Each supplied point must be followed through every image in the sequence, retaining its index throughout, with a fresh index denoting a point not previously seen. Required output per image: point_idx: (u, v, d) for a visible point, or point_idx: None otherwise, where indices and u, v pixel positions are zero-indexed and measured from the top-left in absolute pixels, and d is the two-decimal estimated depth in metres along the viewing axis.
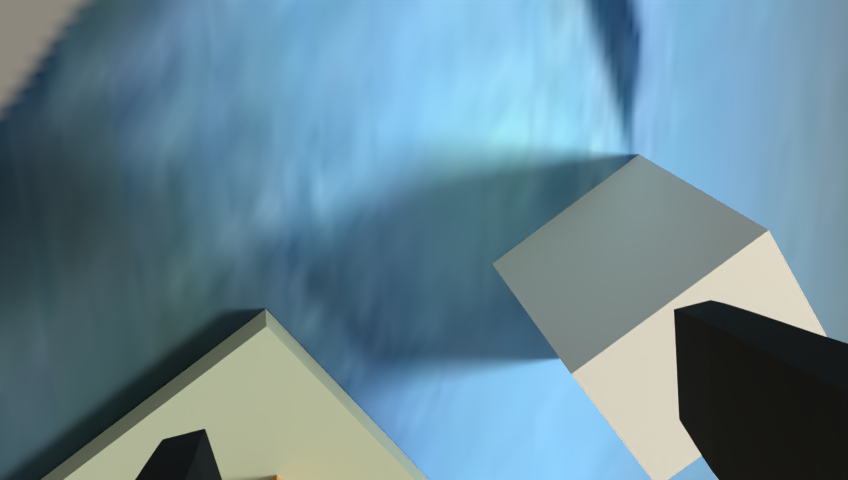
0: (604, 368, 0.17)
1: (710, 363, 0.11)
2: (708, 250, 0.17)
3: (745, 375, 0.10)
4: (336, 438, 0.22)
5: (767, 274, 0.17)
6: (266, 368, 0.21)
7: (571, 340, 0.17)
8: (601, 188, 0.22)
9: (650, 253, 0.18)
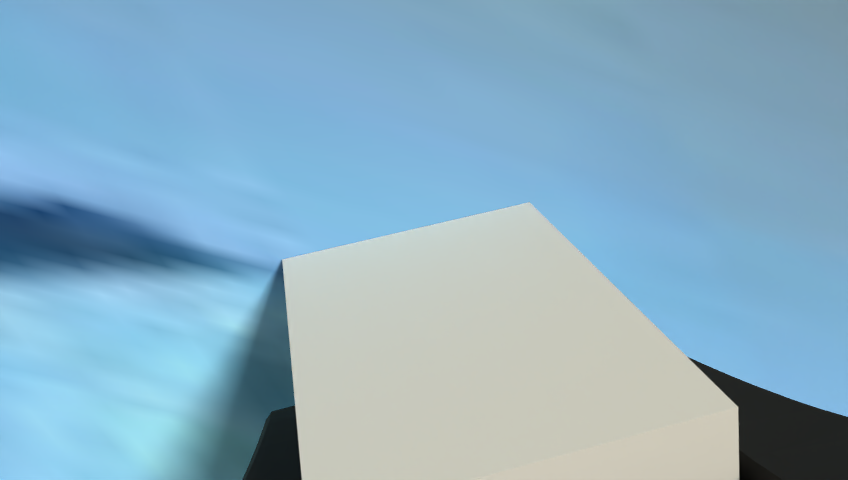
0: None
1: None
2: None
3: None
4: None
5: None
6: None
7: None
8: None
9: None
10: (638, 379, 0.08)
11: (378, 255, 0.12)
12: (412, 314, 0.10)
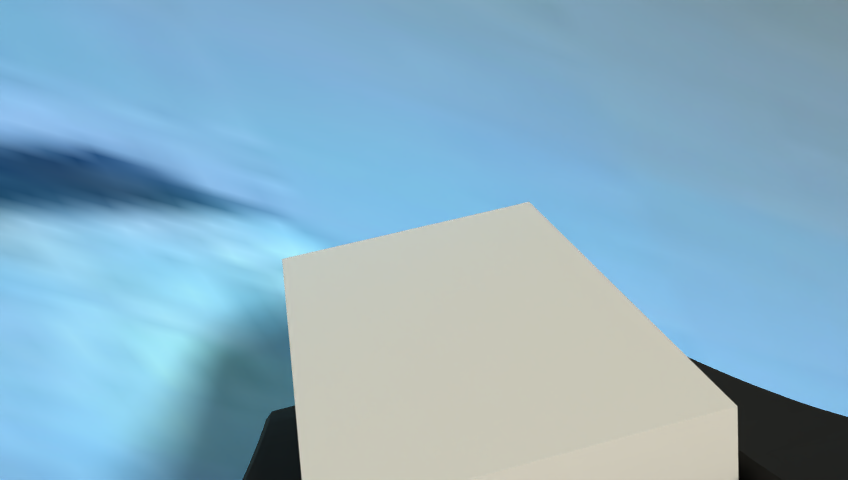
0: None
1: None
2: None
3: None
4: None
5: None
6: None
7: None
8: None
9: None
10: (637, 378, 0.08)
11: (378, 255, 0.12)
12: (412, 313, 0.10)
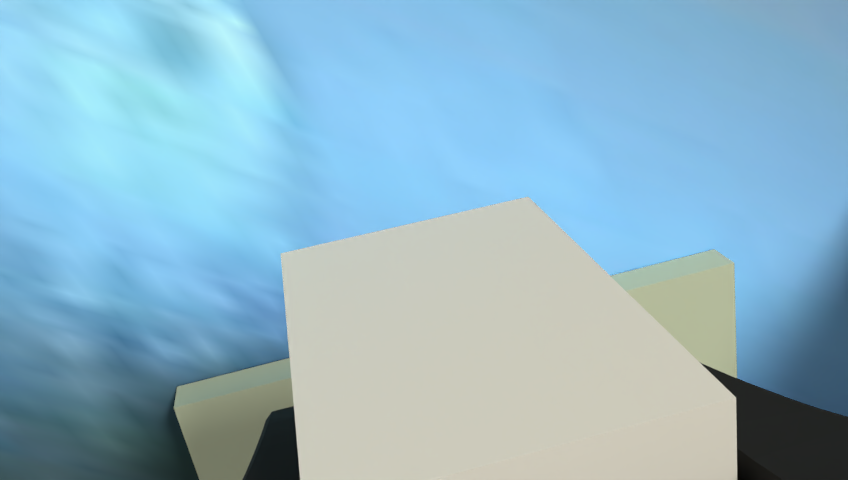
0: None
1: None
2: None
3: None
4: None
5: None
6: (220, 423, 0.20)
7: None
8: None
9: None
10: (636, 370, 0.08)
11: (377, 249, 0.12)
12: (411, 306, 0.10)
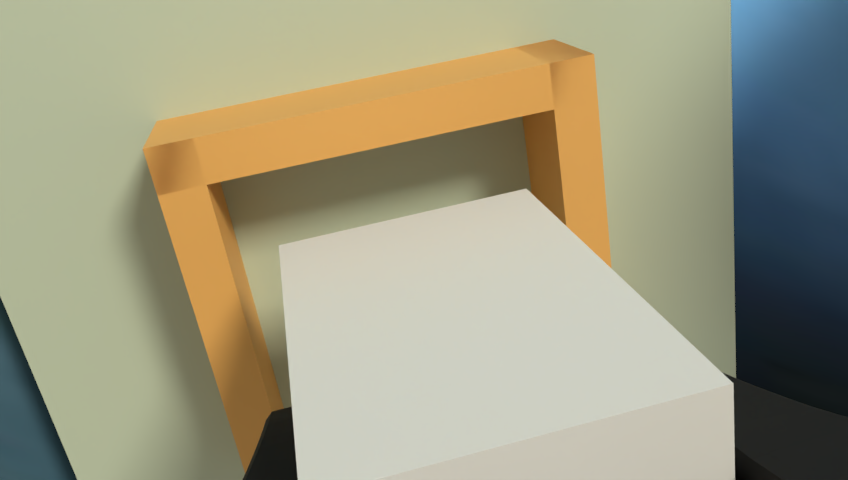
0: None
1: None
2: None
3: None
4: (135, 11, 0.14)
5: None
6: None
7: None
8: None
9: None
10: (633, 357, 0.08)
11: (375, 240, 0.12)
12: (408, 297, 0.10)
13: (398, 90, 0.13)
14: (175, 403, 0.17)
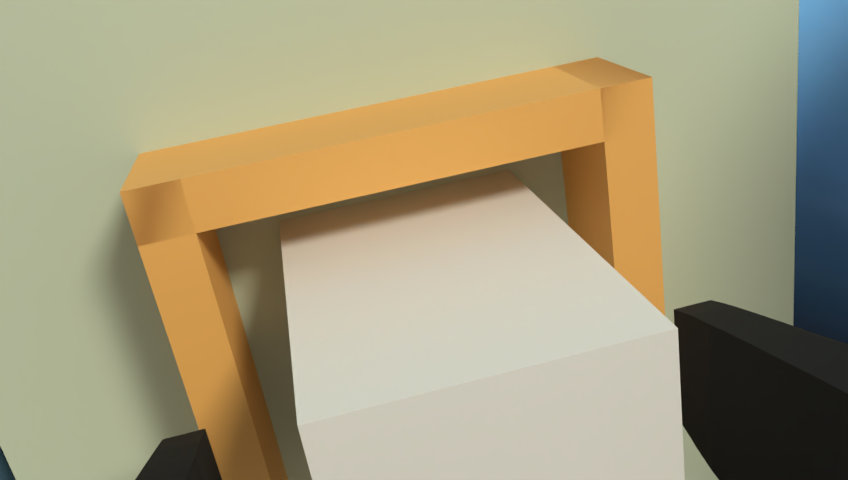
0: None
1: (710, 363, 0.11)
2: None
3: (745, 375, 0.10)
4: (113, 26, 0.12)
5: (395, 440, 0.08)
6: None
7: None
8: None
9: None
10: (593, 309, 0.09)
11: (367, 216, 0.13)
12: (396, 263, 0.11)
13: (422, 120, 0.11)
14: None
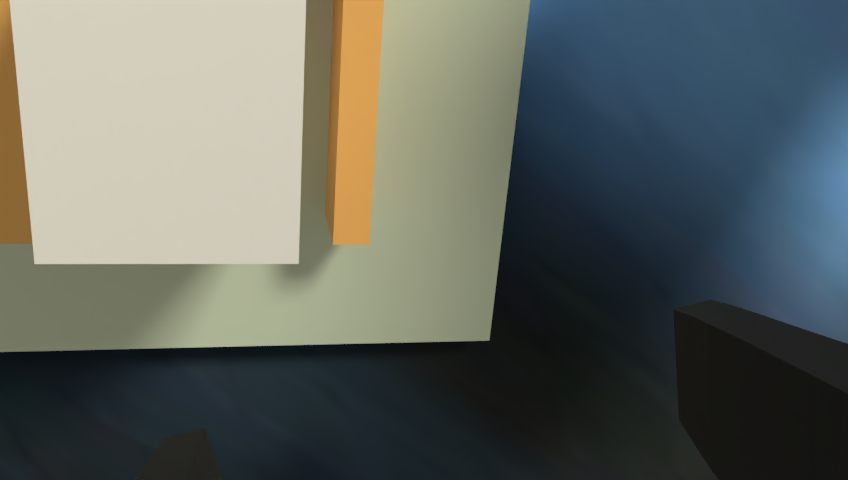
0: (59, 226, 0.12)
1: (710, 363, 0.11)
2: None
3: (745, 375, 0.10)
4: None
5: None
6: None
7: None
8: None
9: None
10: None
11: None
12: None
13: None
14: None
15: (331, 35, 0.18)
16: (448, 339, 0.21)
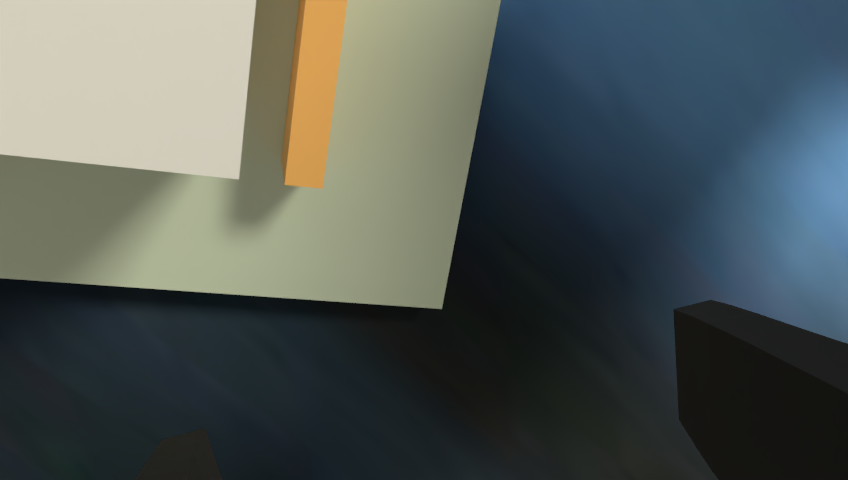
0: None
1: (710, 363, 0.11)
2: None
3: (745, 375, 0.10)
4: None
5: None
6: None
7: None
8: None
9: None
10: None
11: None
12: None
13: None
14: None
15: None
16: (399, 304, 0.21)
